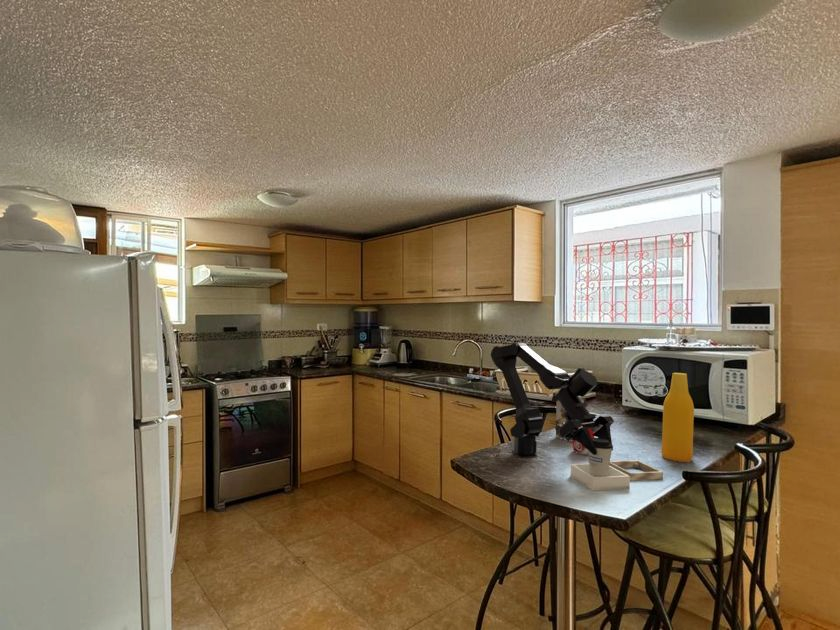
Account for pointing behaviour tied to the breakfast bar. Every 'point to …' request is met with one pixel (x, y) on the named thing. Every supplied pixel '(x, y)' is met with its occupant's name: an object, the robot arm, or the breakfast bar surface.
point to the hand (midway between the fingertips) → (603, 452)
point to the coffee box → (562, 416)
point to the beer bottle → (678, 421)
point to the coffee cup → (600, 457)
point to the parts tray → (649, 474)
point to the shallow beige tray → (600, 478)
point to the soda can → (579, 447)
